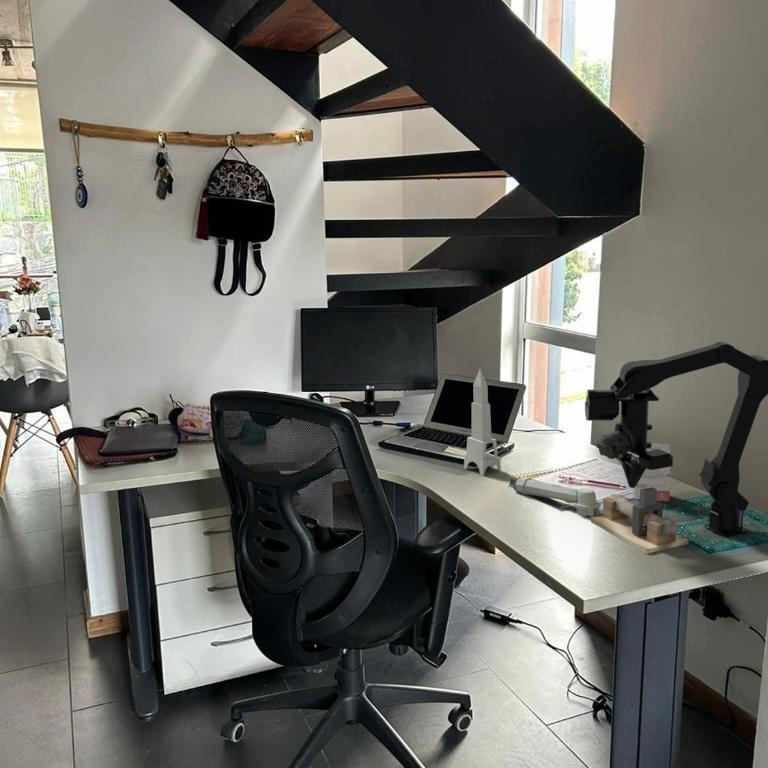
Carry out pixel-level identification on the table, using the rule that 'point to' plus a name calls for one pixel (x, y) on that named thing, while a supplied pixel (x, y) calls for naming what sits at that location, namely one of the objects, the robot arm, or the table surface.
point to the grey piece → (561, 494)
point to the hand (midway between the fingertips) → (632, 487)
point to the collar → (645, 510)
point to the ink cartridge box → (656, 479)
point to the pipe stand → (658, 528)
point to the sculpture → (481, 429)
